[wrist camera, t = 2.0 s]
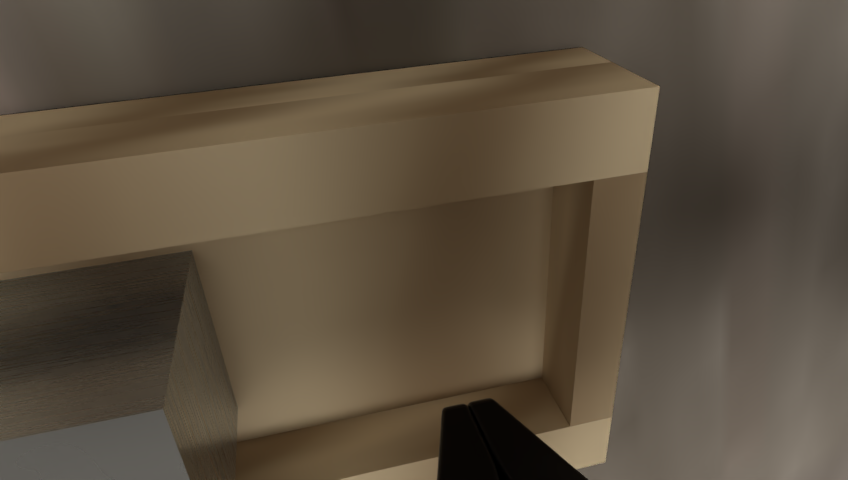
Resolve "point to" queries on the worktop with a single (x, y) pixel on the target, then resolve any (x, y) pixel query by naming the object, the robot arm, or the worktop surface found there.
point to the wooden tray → (369, 244)
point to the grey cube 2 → (114, 376)
